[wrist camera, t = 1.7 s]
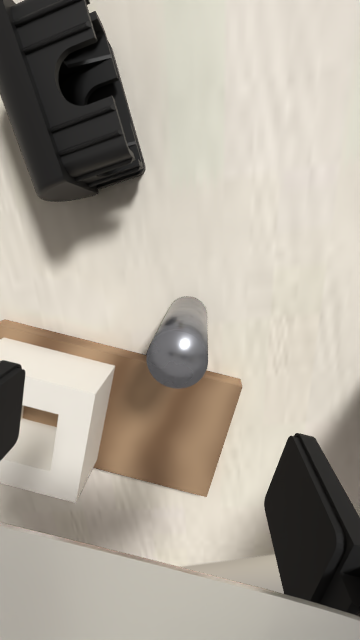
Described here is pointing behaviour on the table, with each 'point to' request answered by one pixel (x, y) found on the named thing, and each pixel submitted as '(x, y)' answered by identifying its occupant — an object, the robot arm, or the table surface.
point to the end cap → (65, 99)
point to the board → (148, 415)
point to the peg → (180, 345)
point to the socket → (73, 420)
